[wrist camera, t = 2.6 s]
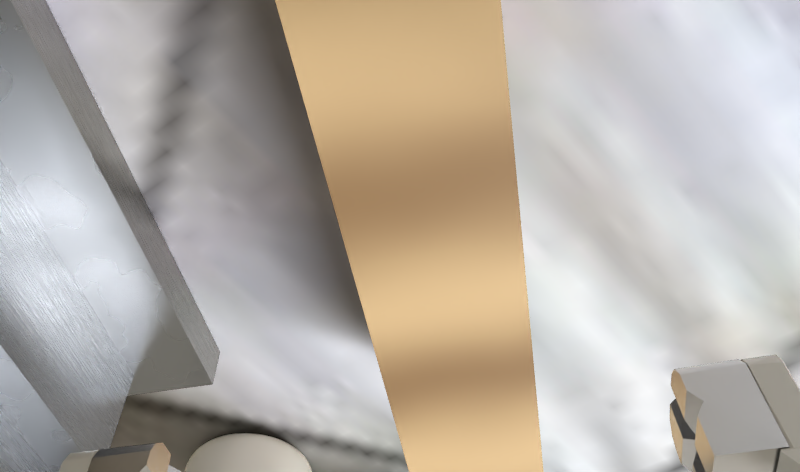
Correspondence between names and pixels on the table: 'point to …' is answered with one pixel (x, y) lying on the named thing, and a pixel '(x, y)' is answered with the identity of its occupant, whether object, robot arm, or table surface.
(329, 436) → the table surface
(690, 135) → the table surface
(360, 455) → the table surface
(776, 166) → the table surface
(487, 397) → the wooden block
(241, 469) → the cream cylinder
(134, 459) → the robot arm
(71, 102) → the ridge
